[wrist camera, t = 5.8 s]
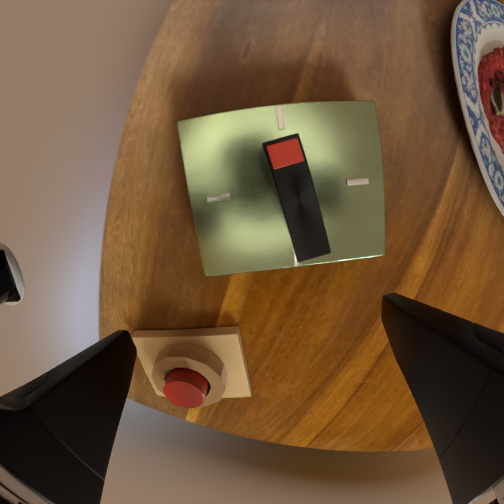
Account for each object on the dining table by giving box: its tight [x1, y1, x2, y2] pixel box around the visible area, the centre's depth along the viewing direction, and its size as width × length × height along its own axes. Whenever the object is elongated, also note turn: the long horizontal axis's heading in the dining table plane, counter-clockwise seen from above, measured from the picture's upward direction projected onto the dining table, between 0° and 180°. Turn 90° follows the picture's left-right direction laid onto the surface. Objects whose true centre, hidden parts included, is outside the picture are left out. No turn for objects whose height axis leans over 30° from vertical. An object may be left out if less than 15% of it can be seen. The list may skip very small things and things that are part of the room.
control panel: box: [177, 101, 385, 277], centre depth 17 cm, size 12×10×3 cm
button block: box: [131, 326, 252, 407], centre depth 23 cm, size 10×8×3 cm
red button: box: [163, 368, 208, 408], centre depth 21 cm, size 4×4×2 cm
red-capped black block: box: [262, 133, 331, 263], centre depth 13 cm, size 6×2×5 cm, turn 18°
